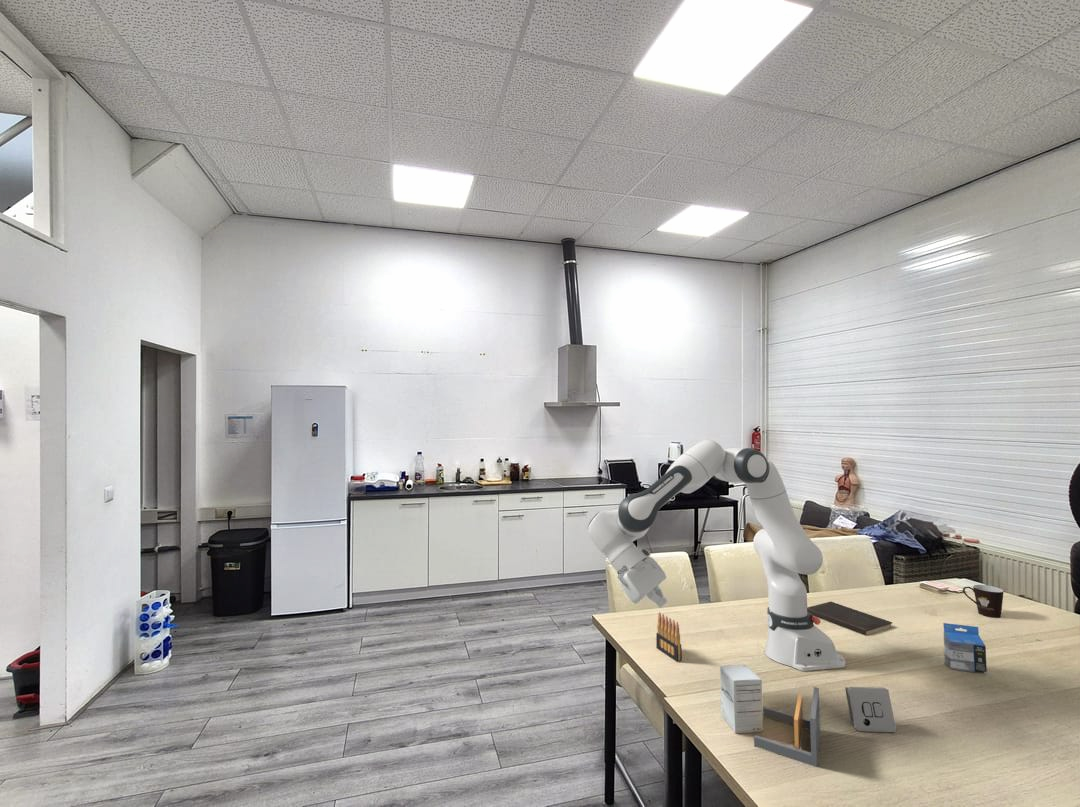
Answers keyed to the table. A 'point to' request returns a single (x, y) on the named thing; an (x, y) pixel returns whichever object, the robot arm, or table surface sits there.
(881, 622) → the hardcover book
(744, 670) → the supplement box
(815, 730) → the holder
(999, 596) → the coffee mug
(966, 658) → the ink cartridge box
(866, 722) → the electrical switch
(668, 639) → the ammunition clip
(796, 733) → the orange flat slab
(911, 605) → the table surface
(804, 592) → the robot arm
